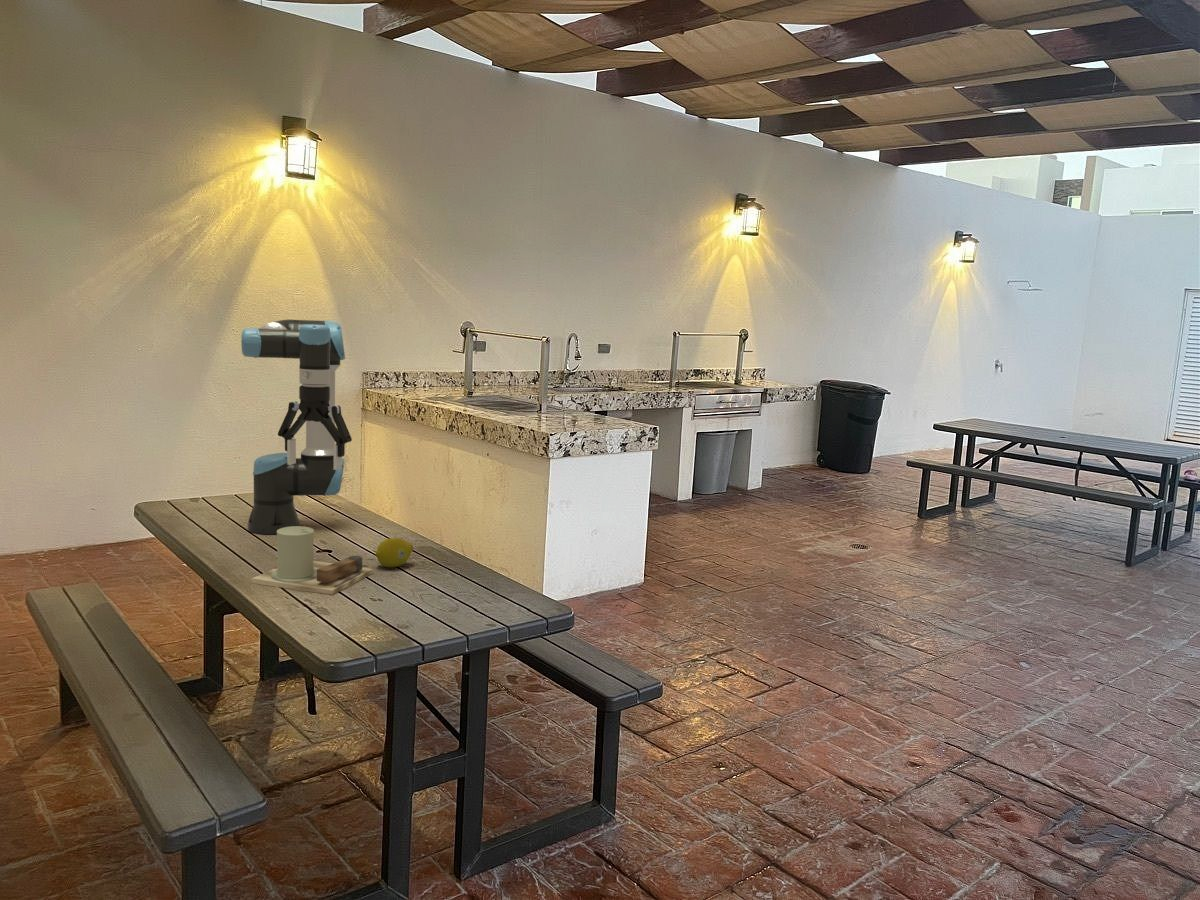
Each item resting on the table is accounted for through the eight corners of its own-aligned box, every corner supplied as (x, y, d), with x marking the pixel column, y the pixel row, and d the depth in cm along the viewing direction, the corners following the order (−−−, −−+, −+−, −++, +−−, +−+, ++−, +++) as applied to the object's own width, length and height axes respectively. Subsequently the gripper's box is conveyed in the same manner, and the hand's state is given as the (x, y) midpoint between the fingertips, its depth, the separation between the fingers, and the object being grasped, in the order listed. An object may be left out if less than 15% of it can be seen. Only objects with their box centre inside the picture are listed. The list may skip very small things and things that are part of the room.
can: (302, 580, 232) (302, 534, 230) (269, 576, 234) (269, 531, 232) (320, 570, 241) (320, 526, 239) (288, 567, 242) (288, 522, 241)
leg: (353, 565, 245) (354, 555, 244) (365, 568, 243) (365, 557, 243) (315, 580, 231) (315, 569, 230) (327, 583, 229) (327, 571, 229)
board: (297, 562, 252) (297, 557, 251) (372, 573, 246) (373, 567, 246) (251, 583, 233) (251, 576, 232) (332, 595, 227) (332, 588, 227)
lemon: (378, 572, 247) (378, 543, 246) (370, 564, 254) (371, 536, 252) (417, 568, 252) (418, 540, 251) (408, 560, 259) (409, 533, 258)
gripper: (263, 382, 235) (264, 464, 239) (350, 390, 229) (349, 473, 232) (281, 380, 242) (281, 459, 246) (365, 387, 236) (364, 468, 239)
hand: (314, 466), depth 239 cm, fingers open, 13 cm apart
